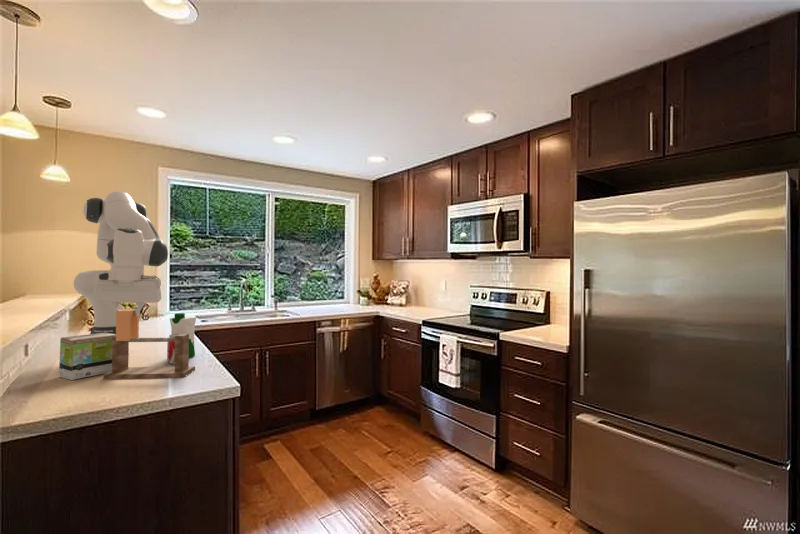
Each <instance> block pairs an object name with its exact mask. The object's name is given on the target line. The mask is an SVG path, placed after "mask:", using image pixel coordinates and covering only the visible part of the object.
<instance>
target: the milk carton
mask: <svg viewBox="0 0 800 534" xmlns="http://www.w3.org/2000/svg"><path fill="white" fill-rule="evenodd" d="M169 321H170V322H169V323H170V327H171V328H170V329H171V330H170V331H171V334H170V335H172V334H189V358H193V357H196V349H195V326H196V321H197V317H196V316H186V313H184V312H179V313H174V317H171V318H169ZM192 356H193V357H192Z"/></svg>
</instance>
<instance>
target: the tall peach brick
mask: <svg viewBox="0 0 800 534" xmlns="http://www.w3.org/2000/svg"><path fill="white" fill-rule="evenodd" d="M134 310H136V308H126V309H124V310H119V311H116V341H130V338H140V335H139V331H140V330H139V329H140V327H139V325H140V322H139V321H140V315H139V316H133V311H134Z"/></svg>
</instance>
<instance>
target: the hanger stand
mask: <svg viewBox="0 0 800 534" xmlns="http://www.w3.org/2000/svg"><path fill="white" fill-rule="evenodd" d="M168 342H175V364H174V366H136V367H135V366H134V367H132V366H131V367H130V366H129V355H130V353H129V350H130V349H129V346H130V345H129V343H168ZM189 359H190V357H189V334H179V335H177V336H175V338H169V337H138V338H130V341H116V336H113V337H112V371H111V372H108V373H105V374H102V376H103V377H102V378H103V380H106V379H107V378H119V379H151V378H150V377H168V378H185V377H187V376H188V375H190V374H191V373H192V371H193V372H194V371H196V366H195V365H190V366H189V364H190V363H189V361H190V360H189ZM186 375H187V376H186ZM104 378H106V379H104ZM107 380H108V379H107Z"/></svg>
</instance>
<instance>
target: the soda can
mask: <svg viewBox="0 0 800 534" xmlns="http://www.w3.org/2000/svg"><path fill="white" fill-rule="evenodd" d="M177 335H179V334H172V335H171V334H170V335H169V336H168V338H175V336H177ZM166 343H167V345H166V346H167V347H166V350H167V351H166V355H167V356H166V357H167V359H166V360H167V363H169V364H170V365H175V342H166Z"/></svg>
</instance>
